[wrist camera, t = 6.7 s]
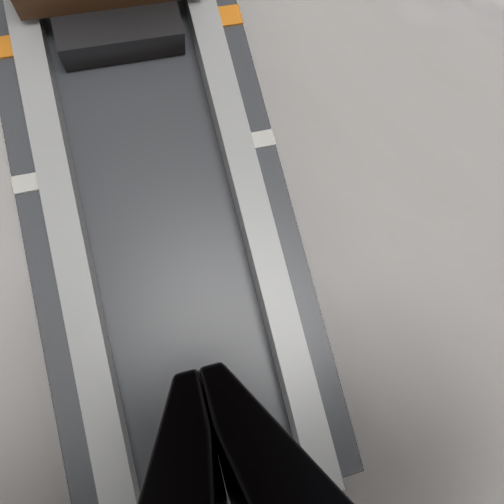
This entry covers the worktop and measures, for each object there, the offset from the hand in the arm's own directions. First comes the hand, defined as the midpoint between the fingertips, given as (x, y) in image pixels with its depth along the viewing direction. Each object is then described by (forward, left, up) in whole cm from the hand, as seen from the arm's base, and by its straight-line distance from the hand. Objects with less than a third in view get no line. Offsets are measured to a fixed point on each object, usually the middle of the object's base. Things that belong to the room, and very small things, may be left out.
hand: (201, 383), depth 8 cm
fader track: (+4, +4, -9) cm, 10 cm away
